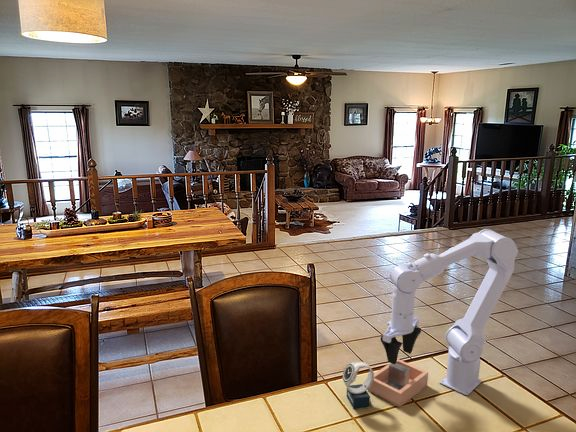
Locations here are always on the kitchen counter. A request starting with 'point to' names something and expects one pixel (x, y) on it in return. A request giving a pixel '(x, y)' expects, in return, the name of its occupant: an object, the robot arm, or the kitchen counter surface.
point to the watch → (357, 392)
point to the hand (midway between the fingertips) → (399, 357)
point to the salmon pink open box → (400, 397)
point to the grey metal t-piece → (398, 376)
